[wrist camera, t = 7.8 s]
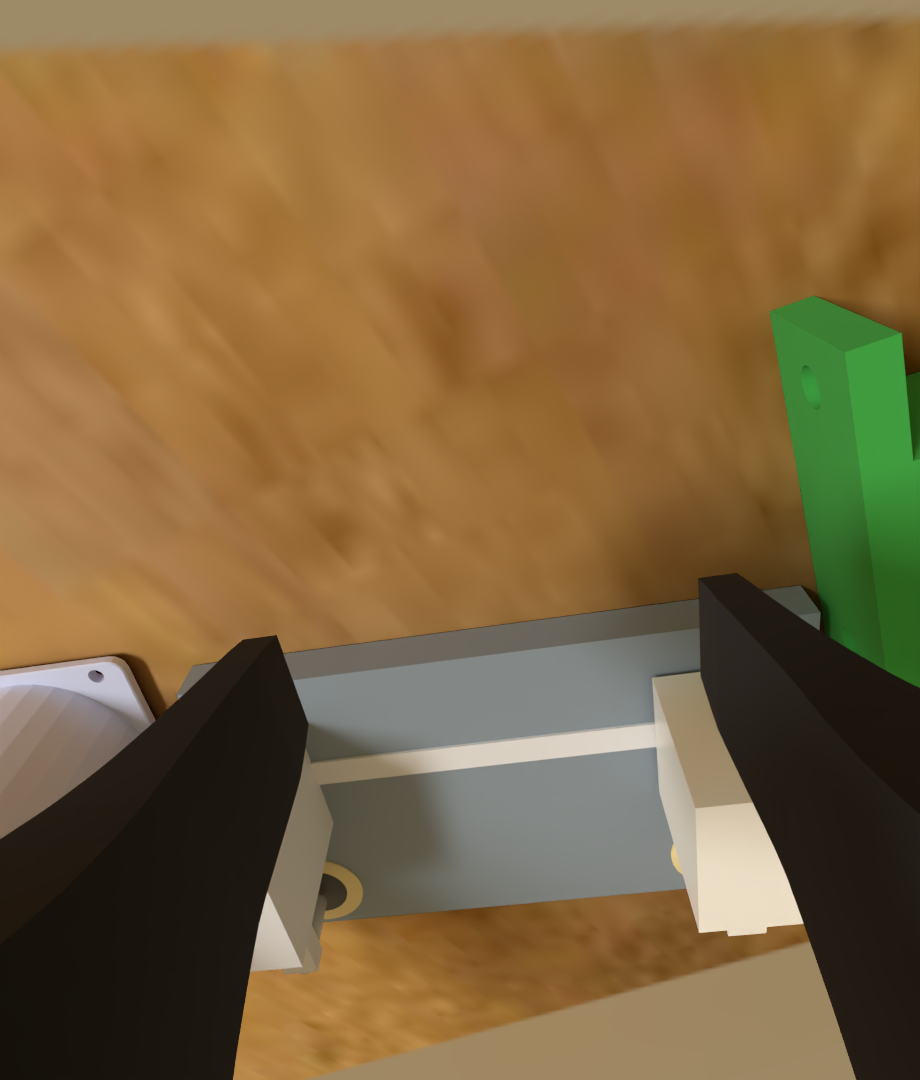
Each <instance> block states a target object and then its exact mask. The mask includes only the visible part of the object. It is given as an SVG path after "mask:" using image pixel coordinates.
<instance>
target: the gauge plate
mask: <svg viewBox="0 0 920 1080" xmlns="http://www.w3.org/2000/svg"><path fill="white" fill-rule="evenodd" d="M762 591H763V592H764V593H766V594H767V595H769V596H770V597H771V598H773V599H774V600H776V601H777V602H778V603H780V604H781V605H783V606H784V607H786V608H787V609H788V610H790V611H791V612H793V613H794V614H796V615H797V616H799V617H800V618H802V619H803V620H804V621H806V622H807V623H809V624H810V625H812V626H813V627H815V628H817V629H818V630H819V628H820V614H821V612H820V611H819V610H818V608H817V607H816V606H815V604H814V603H813V602H812V600H811V599H810V598H809V596H808V595H807V594H806V592H805V591H804V590H803V588H802V587H801V586H792V587H785V588H777V589H769V590H762ZM284 657H285V660H286V663H287V665H288V668H289V671H290V674H291V676H292V679H293V682H294V685H295V688H296V690H297V693H298V696H299V699H300V701H301V704H302V707H303V710H304V712H305V715H306V718H307V721H308V723H309V725H308V733H307V740H306V748H305V755H304V761H303V767H302V773H301V778H300V782H299V786H298V789H297V793H296V796H295V800H294V803H293V807H292V810H291V814H290V817H289V821H288V824H287V827H286V831H285V834H284V838H283V841H282V844H281V848H280V851H279V854H278V858H277V861H276V865H275V868H274V871H273V875H272V878H271V881H270V885H269V888H268V891H267V895H266V898H265V902H264V906H263V910H262V914H261V918H260V922H259V927H258V932H257V937H256V942H255V948H254V953H253V958H252V964H251V969H250V972H251V971H263V970H274V969H282V971H283V973H284V974H294V973H300V974H308V973H310V972H317V971H318V968H319V963H320V958H321V953H322V947H321V945H320V942H319V940H320V935H321V930H322V925H323V922H331V921H342V920H353V919H364V918H374V917H385V916H396V915H407V914H418V913H428V912H439V911H450V910H461V909H472V908H482V907H493V906H504V905H515V904H526V903H536V902H547V901H558V900H569V899H579V898H590V897H601V896H612V895H623V894H633V893H644V892H655V891H666V890H677V889H687V888H686V885H685V881H684V878H683V874H682V871H681V867H680V863H679V860H678V856H677V853H676V849H675V846H674V842H673V839H672V835H671V832H670V828H669V825H668V821H667V818H666V814H665V811H664V807H663V804H662V800H661V797H660V793H659V780H658V764H657V748H656V732H655V717H654V701H653V685H652V678H655V677H663V676H671V675H679V674H687V673H696V672H700V628H699V599H694V600H686V601H679V602H671V603H664V604H656V605H648V606H641V607H633V608H626V609H618V610H611V611H603V612H595V613H588V614H580V615H573V616H565V617H558V618H550V619H543V620H535V621H527V622H520V623H512V624H505V625H497V626H490V627H482V628H474V629H467V630H459V631H452V632H444V633H437V634H429V635H421V636H414V637H406V638H399V639H391V640H384V641H376V642H369V643H361V644H353V645H346V646H338V647H331V648H323V649H316V650H308V651H300V652H293V653H285V654H284ZM215 664H216V663H210V664H202V665H195V666H192V668H191V670H190V672H189V674H188V675H187V677H186V679H185V681H184V683H183V684H182V686H181V688H180V690H179V692H178V694H177V697H178V699H179V698H180V697H181V696H183V695H184V694H185V693H186V692H187V691H188V690H189V689H190V688H191V687H192V686H193V685H194V684H195V683H196V682H197V681H198V680H199V679H201V678H202V677H203V676H204V675H205V674H206V673H207V672H208V671H209V670H210V669H211V668H212V667H213V666H214V665H215Z"/></svg>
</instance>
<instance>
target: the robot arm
mask: <svg viewBox="0 0 920 1080" xmlns="http://www.w3.org/2000/svg"><path fill="white" fill-rule="evenodd" d="M698 583H699V628H700V672H701V679H702V682H703V685H704V689H705V692H706V695H707V698H708V701H709V704H710V707H711V710H712V713H713V716H714V719H715V722H716V725H717V728H718V731H719V733H720V735H721V737H722V739H723V741H724V744H725V746H726V748H727V750H728V752H729V754H730V756H731V758H732V761H733V763H734V765H735V767H736V769H737V771H738V773H739V775H740V777H741V779H742V782H743V784H744V786H745V788H746V790H747V792H748V794H749V796H750V798H751V800H752V802H753V804H754V806H755V809H756V811H757V813H758V815H759V817H760V819H761V821H762V823H763V825H764V827H765V829H766V832H767V834H768V836H769V838H770V840H771V842H772V844H773V846H774V848H775V851H776V853H777V855H778V858H779V860H780V862H781V865H782V867H783V869H784V872H785V874H786V876H787V879H788V882H789V884H790V887H791V890H792V893H793V896H794V898H795V901H796V904H797V907H798V909H799V912H800V915H801V918H802V920H803V923H804V926H805V929H806V932H807V934H808V937H809V940H810V943H811V946H812V949H813V951H814V954H815V957H816V960H817V963H818V966H819V969H820V972H821V974H822V977H823V981H824V983H825V986H826V989H827V992H828V995H829V998H830V1001H831V1003H832V1007H833V1010H834V1013H835V1016H836V1019H837V1022H838V1025H839V1028H840V1031H841V1034H842V1037H843V1040H844V1043H845V1046H846V1049H847V1053H848V1056H849V1059H850V1062H851V1064H852V1068H853V1071H854V1074H855V1077H856V1080H920V688H919V687H917V686H915V685H913V684H911V683H909V682H907V681H905V680H903V679H901V678H899V677H897V676H895V675H893V674H892V673H890V672H888V671H886V670H884V669H883V668H881V667H879V666H877V665H876V664H874V663H872V662H870V661H869V660H867V659H865V658H864V657H862V656H860V655H858V654H857V653H855V652H853V651H851V650H850V649H848V648H847V647H845V646H843V645H842V644H840V643H838V642H837V641H835V640H834V639H832V638H830V637H829V636H827V635H826V634H824V633H823V632H821V631H820V630H818V629H817V628H815V627H813V626H812V625H810V624H809V623H807V622H806V621H804V620H803V619H802V618H800V617H799V616H797V615H796V614H794V613H793V612H791V611H790V610H788V609H787V608H786V607H784V606H783V605H781V604H780V603H778V602H777V601H776V600H774V599H773V598H771V597H770V596H769V595H767V594H766V593H764V592H763V591H762V590H760V589H759V588H757V587H756V586H755V585H753V584H752V583H750V582H749V581H747V580H746V579H745V578H743V577H742V576H740V575H739V574H737V573H734V574H726V575H719V576H712V577H704V578H698ZM95 670H97V671H99V672H101V673H102V674H103V675H100V674H98V673H96V671H95ZM308 725H309V723H308V721H307V718H306V715H305V712H304V710H303V707H302V704H301V701H300V699H299V696H298V693H297V690H296V688H295V685H294V682H293V679H292V676H291V674H290V671H289V668H288V665H287V663H286V660H285V657H284V654H283V652H282V649H281V646H280V643H279V641H278V638H277V635H275V636H267V637H260V638H252V639H245V640H242V641H241V642H240V643H239V644H237V645H236V646H235V647H234V648H233V649H232V650H230V651H229V652H228V653H227V654H226V655H225V656H224V657H223V658H222V659H221V660H219V661H218V662H217V663H216V664H215V665H214V666H213V667H212V668H211V669H210V670H209V671H208V672H207V673H206V674H205V675H204V676H203V677H202V678H201V679H199V680H198V681H197V682H196V683H195V684H194V685H193V686H192V687H191V688H190V689H189V690H188V691H187V692H186V693H185V694H184V695H183V696H181V697H180V698H179V699H178V700H177V701H176V702H175V703H174V704H173V705H172V706H171V707H170V708H169V709H168V710H167V711H166V712H165V713H163V714H162V715H161V716H160V717H159V718H158V719H157V720H155V718H154V716H153V714H152V712H151V710H150V708H149V706H148V704H147V702H146V700H145V698H144V696H143V694H142V692H141V690H140V688H139V686H138V684H137V682H136V680H135V678H134V676H133V674H132V672H131V670H130V668H129V666H128V664H127V663H126V662H125V661H124V660H122V659H121V658H118V657H115V656H107V657H100V658H92V659H85V660H77V661H70V662H63V663H55V664H48V665H41V666H33V667H26V668H18V669H11V670H4V671H0V1080H233V1075H234V1067H235V1060H236V1053H237V1046H238V1040H239V1034H240V1028H241V1022H242V1016H243V1009H244V1003H245V997H246V991H247V985H248V980H249V974H250V969H251V964H252V958H253V953H254V948H255V942H256V937H257V932H258V927H259V922H260V918H261V914H262V910H263V906H264V902H265V898H266V895H267V891H268V888H269V885H270V881H271V878H272V875H273V871H274V868H275V865H276V861H277V858H278V854H279V851H280V848H281V844H282V841H283V838H284V834H285V831H286V827H287V824H288V821H289V817H290V814H291V810H292V807H293V803H294V800H295V796H296V793H297V789H298V786H299V782H300V778H301V773H302V767H303V761H304V755H305V748H306V740H307V733H308Z"/></svg>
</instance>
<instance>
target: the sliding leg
mask: <svg viewBox="0 0 920 1080" xmlns="http://www.w3.org/2000/svg"><path fill="white" fill-rule="evenodd" d="M652 685H653V701H654V717H655V732H656V748H657V764H658V780H659V793H660V797H661V800H662V804H663V807H664V811H665V814H666V818H667V821H668V825H669V828H670V832H671V835H672V839H673V842H674V846H675V849H676V853H677V856H678V860H679V863H680V867H681V871H682V874H683V878H684V881H685V885H686V888H687V892H688V895H689V899H690V902H691V906H692V909H693V913H694V916H695V920H696V923H697V927H698V930H699V933H702V932H714V931H726V930H727V933H728V936H737V935H749V934H761V933H766V931H767V927H772V926H783V925H795V924H804V923H803V920H802V918H801V915H800V912H799V909H798V907H797V904H796V901H795V898H794V896H793V893H792V890H791V887H790V884H789V882H788V879H787V876H786V874H785V872H784V869H783V867H782V865H781V862H780V860H779V858H778V855H777V853H776V851H775V848H774V846H773V844H772V842H771V840H770V838H769V836H768V834H767V832H766V829H765V827H764V825H763V823H762V821H761V819H760V817H759V815H758V813H757V811H756V809H755V806H754V804H753V802H752V800H751V798H750V796H749V794H748V792H747V790H746V788H745V786H744V784H743V782H742V779H741V777H740V775H739V773H738V771H737V769H736V767H735V765H734V763H733V761H732V758H731V756H730V754H729V752H728V750H727V748H726V746H725V744H724V741H723V739H722V737H721V735H720V733H719V731H718V728H717V725H716V722H715V719H714V716H713V713H712V710H711V707H710V704H709V701H708V698H707V695H706V692H705V689H704V685H703V682H702V679H701V672H696V673H687V674H679V675H671V676H663V677H655V678H652Z"/></svg>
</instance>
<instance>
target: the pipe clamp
mask: <svg viewBox="0 0 920 1080" xmlns="http://www.w3.org/2000/svg"><path fill="white" fill-rule="evenodd" d="M770 317H771V322H772V328H773V334H774V340H775V346H776V351H777V357H778V363H779V369H780V375H781V380H782V386H783V392H784V398H785V404H786V409H787V415H788V421H789V427H790V433H791V438H792V444H793V450H794V456H795V462H796V467H797V473H798V479H799V485H800V491H801V496H802V502H803V508H804V514H805V520H806V525H807V531H808V537H809V543H810V549H811V554H812V560H813V566H814V572H815V578H816V583H817V589H818V595H819V601H820V607H821V612H822V618H823V624H824V630H825V634H826V635H827V636H829V637H830V638H832V639H834V640H835V641H837V642H838V643H840V644H842V645H843V646H845V647H847V648H848V649H850V650H851V651H853V652H855V653H857V654H858V655H860V656H862V657H864V658H865V659H867V660H869V661H870V662H872V663H874V664H876V665H877V666H879V667H881V668H883V669H884V670H886V671H888V672H890V673H892V674H893V675H895V676H897V677H899V678H901V679H903V680H905V681H907V682H909V683H911V684H913V685H915V686H917V687H919V688H920V372H917V373H914V374H911V375H908V376H905V365H904V354H903V343H902V333H900V332H898V331H896V330H893V329H891V328H889V327H886V326H884V325H882V324H879V323H877V322H874V321H872V320H870V319H867V318H865V317H863V316H860V315H858V314H856V313H853V312H851V311H849V310H846V309H844V308H842V307H839V306H837V305H835V304H832V303H830V302H827V301H825V300H823V299H820V298H818V297H816V296H812V297H809V298H806V299H803V300H800V301H798V302H795V303H792V304H789V305H786V306H784V307H781V308H778V309H775V310H772V311H770Z"/></svg>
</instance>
